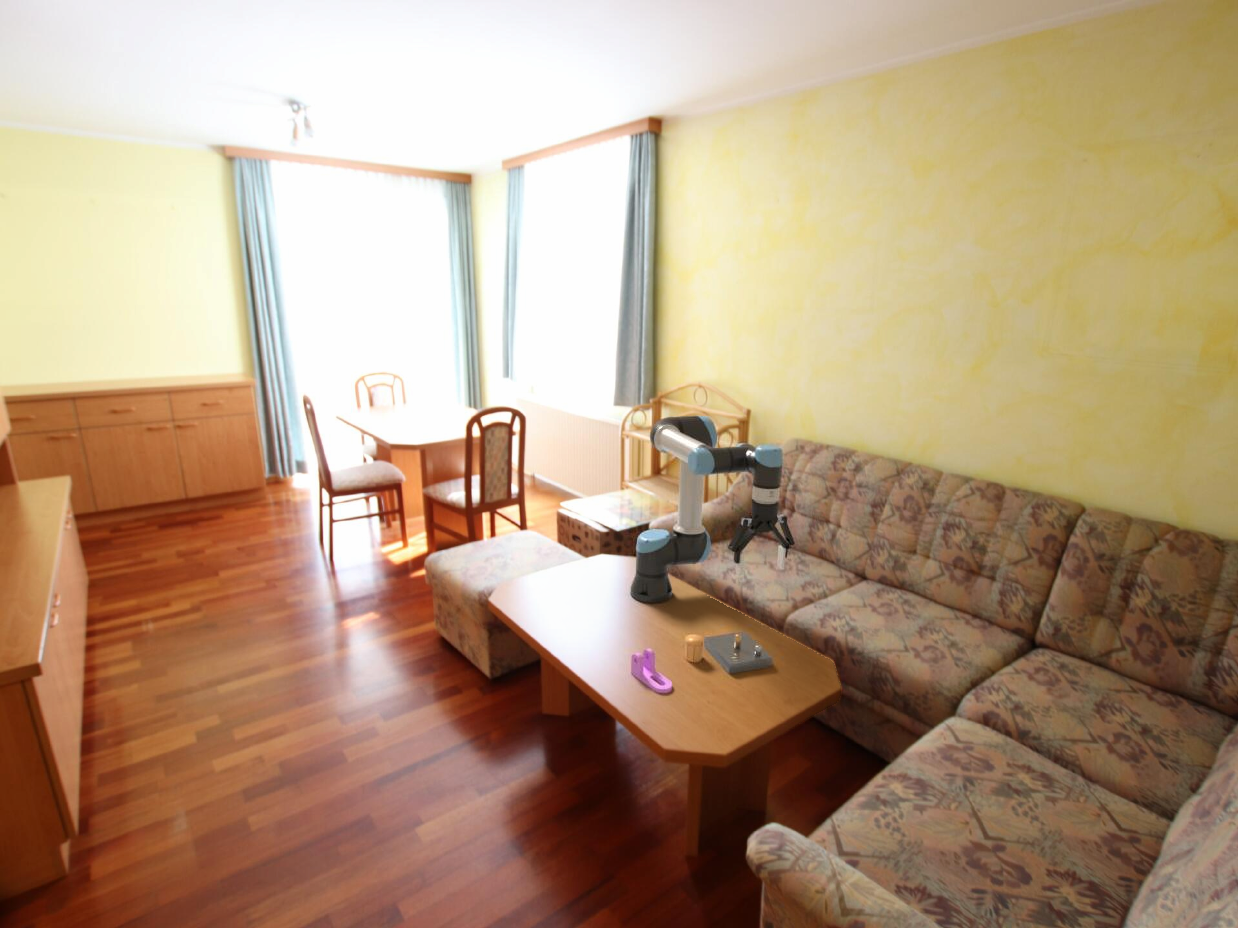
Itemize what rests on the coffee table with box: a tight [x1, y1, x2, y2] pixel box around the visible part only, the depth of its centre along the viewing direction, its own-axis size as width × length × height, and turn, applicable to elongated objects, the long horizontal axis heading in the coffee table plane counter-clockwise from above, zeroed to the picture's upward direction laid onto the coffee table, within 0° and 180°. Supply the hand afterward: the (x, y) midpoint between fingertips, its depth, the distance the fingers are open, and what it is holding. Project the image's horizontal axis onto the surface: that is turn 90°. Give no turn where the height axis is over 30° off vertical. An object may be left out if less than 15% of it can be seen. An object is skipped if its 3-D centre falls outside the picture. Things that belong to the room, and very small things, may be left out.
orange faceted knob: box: [683, 633, 704, 663], centre depth 192 cm, size 5×5×6 cm
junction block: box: [703, 630, 773, 675], centre depth 193 cm, size 16×14×7 cm
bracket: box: [630, 647, 673, 694], centre depth 180 cm, size 13×6×7 cm, turn 37°
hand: (759, 570), depth 187 cm, fingers open, 13 cm apart
